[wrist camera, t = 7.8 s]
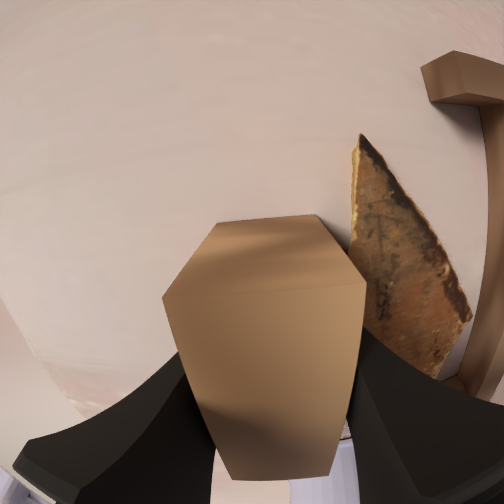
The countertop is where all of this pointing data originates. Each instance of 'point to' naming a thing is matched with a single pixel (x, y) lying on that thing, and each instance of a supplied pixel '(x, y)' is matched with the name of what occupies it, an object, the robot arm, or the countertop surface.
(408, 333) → the shard
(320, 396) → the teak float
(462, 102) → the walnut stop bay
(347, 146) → the countertop surface
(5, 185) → the countertop surface
